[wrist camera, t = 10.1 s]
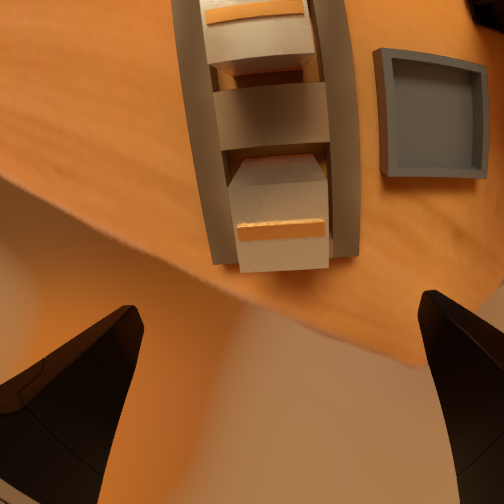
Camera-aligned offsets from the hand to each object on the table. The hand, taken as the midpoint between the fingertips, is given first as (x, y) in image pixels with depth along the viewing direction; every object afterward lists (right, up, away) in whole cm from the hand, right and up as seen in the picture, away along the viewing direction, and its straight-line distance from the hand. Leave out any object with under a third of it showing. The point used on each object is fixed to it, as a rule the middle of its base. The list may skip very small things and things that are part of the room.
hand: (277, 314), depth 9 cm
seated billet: (0, +15, +7) cm, 16 cm away
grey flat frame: (+1, +11, +9) cm, 14 cm away
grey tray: (+12, +11, +7) cm, 18 cm away
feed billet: (+1, +6, +11) cm, 13 cm away
